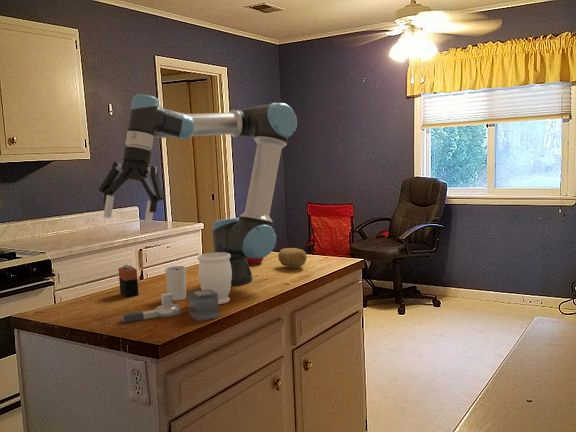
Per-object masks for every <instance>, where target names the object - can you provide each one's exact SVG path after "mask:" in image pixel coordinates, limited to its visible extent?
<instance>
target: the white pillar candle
mask: <svg viewBox="0 0 576 432" xmlns="http://www.w3.org/2000/svg"><path fill="white" fill-rule="evenodd" d="M164 270H165V271H164V272H165V280H166V291H167V293H171V294H172V297H173V301H181V300H185V299H187V275H186V274H187V273H186V272H187V269H186V266H183V265H176V266H175V265H173V266H169V267H168V266H167V267H165V268H164Z"/></svg>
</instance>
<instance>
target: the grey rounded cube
mask: <svg viewBox="0 0 576 432" xmlns="http://www.w3.org/2000/svg"><path fill="white" fill-rule="evenodd" d="M188 303H189V317H191V318H192V319H194V320H195V321H197V322H201V321H207V320H211V319H218V318H220V312H219V311H220V308H219V305H218V293H216V292H214V291H212V290H211V289H206V290H195V291H189V292H188Z"/></svg>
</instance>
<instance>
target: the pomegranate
mask: <svg viewBox="0 0 576 432" xmlns="http://www.w3.org/2000/svg"><path fill="white" fill-rule="evenodd" d="M246 259H247V262H248V265H249V266H256V264H257V265H259V264H261V263H262V262H263V260H264V258H248V257H246Z"/></svg>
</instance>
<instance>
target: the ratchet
mask: <svg viewBox="0 0 576 432" xmlns="http://www.w3.org/2000/svg"><path fill="white" fill-rule="evenodd" d="M160 297H161V298H160V299H161V305H159V306H158V305H157V306H156V307H155V308H154V309H151V310H148V311H147V310H146V311H142V310H138V311H130V312H125V313H121V321H122V323H124V324H128V323H134V322H139V321H144V320H149V319H153V318H161V319H162V318H163V319H164V318H172V317H173V318H174V317H176V316H179V315H180V314H181V306H180V305H179V304H174V302H173V301H174V300H173V297H172V294H171V293H168V292H165V293H164V292H163V293H160Z"/></svg>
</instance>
